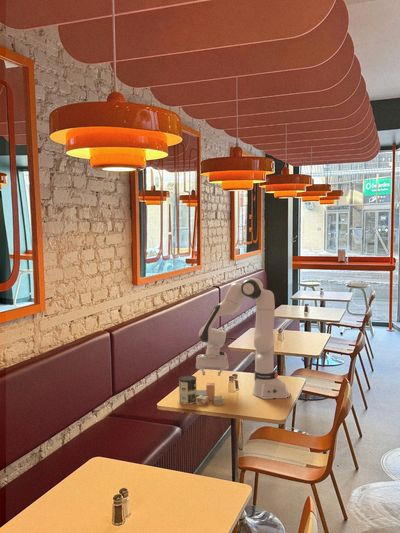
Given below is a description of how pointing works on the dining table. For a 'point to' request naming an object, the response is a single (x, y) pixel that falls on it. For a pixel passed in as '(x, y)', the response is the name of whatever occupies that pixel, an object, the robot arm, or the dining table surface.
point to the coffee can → (187, 389)
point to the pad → (200, 392)
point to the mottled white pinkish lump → (202, 400)
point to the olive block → (218, 400)
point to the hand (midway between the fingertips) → (211, 375)
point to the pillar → (210, 390)
